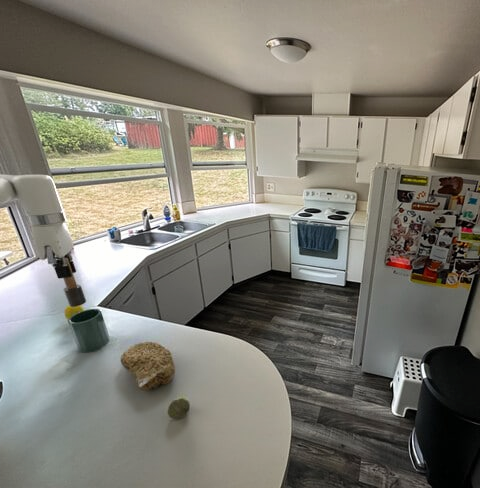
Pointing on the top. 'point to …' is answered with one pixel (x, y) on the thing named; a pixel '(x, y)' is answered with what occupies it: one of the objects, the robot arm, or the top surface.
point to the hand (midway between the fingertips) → (67, 274)
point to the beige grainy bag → (149, 364)
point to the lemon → (72, 311)
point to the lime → (178, 408)
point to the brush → (73, 290)
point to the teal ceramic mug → (89, 330)
